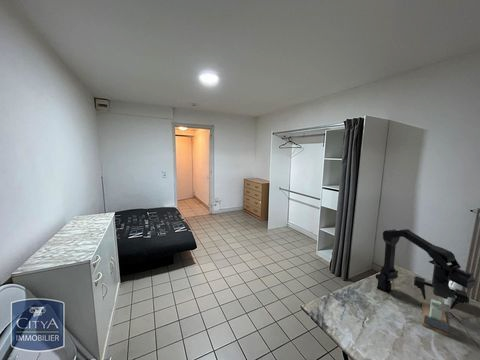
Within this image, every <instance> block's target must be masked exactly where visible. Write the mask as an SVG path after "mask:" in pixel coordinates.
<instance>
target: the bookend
mask: <svg viewBox="0 0 480 360" xmlns="http://www.w3.org/2000/svg"><path fill="white" fill-rule="evenodd" d="M424 323H425V324H427V325H430V326H432V327H434V328H437V329H439V330H441V331H444V332H446V333H447V329H448V328H449V324H448V322H447V323H444V322H442V321H439V320H437V319H434V318H432V317H429V316H427V315H425V316H424ZM448 330H449V329H448Z"/></svg>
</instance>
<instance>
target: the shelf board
mask: <svg viewBox="0 0 480 360" xmlns="http://www.w3.org/2000/svg"><path fill="white" fill-rule="evenodd" d="M430 305H431V303H428V302H426V301H423V300H422V301H421V325H422V326H423V327H425V328H427V329H430V330H432V331H434V332H436V333H439V334H441V335H442V336H443V335H444V336H445V337H449V329H447V333H446V332H444V331H441V330H439V329H437V328H434V327H432V326H430V325H427V324H425V323H424V316H425V315H427V316H429V312H430ZM441 321H442V322H444V323H447V324H448V322H447V315H446V310H445V309H444V308H442V317H441Z"/></svg>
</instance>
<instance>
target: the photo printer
mask: <svg viewBox="0 0 480 360" xmlns="http://www.w3.org/2000/svg"><path fill="white" fill-rule="evenodd" d="M459 286H460V285H459V284H457V283H455V282H453V281H451V280H449V288H451V289H452V290H455V289H458V290H459ZM451 300H452V298H450V297H448V299H444V298H443V303H444V305H446V306H448V307H450V304H451Z"/></svg>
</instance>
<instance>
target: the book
mask: <svg viewBox="0 0 480 360" xmlns="http://www.w3.org/2000/svg"><path fill="white" fill-rule="evenodd" d="M430 304H431V305H430V312H429V317H432V318H434V319H437V320H439V321H441V317H442V309H443V306H442V302H441V301H438V300H435V299H433V298H431V299H430Z"/></svg>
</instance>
